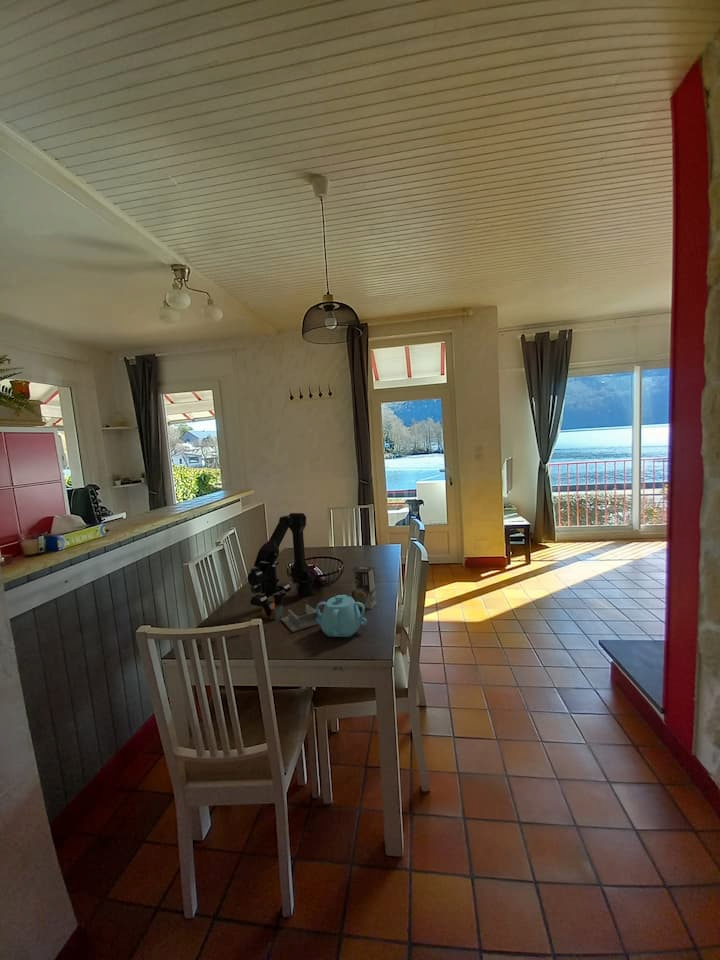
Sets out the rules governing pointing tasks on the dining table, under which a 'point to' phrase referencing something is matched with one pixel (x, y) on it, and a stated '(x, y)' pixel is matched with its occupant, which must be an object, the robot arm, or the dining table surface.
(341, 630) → the decorative pot
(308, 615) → the channel
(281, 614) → the lock block
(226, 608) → the dining table surface
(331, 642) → the dining table surface
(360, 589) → the coffee box
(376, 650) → the dining table surface
